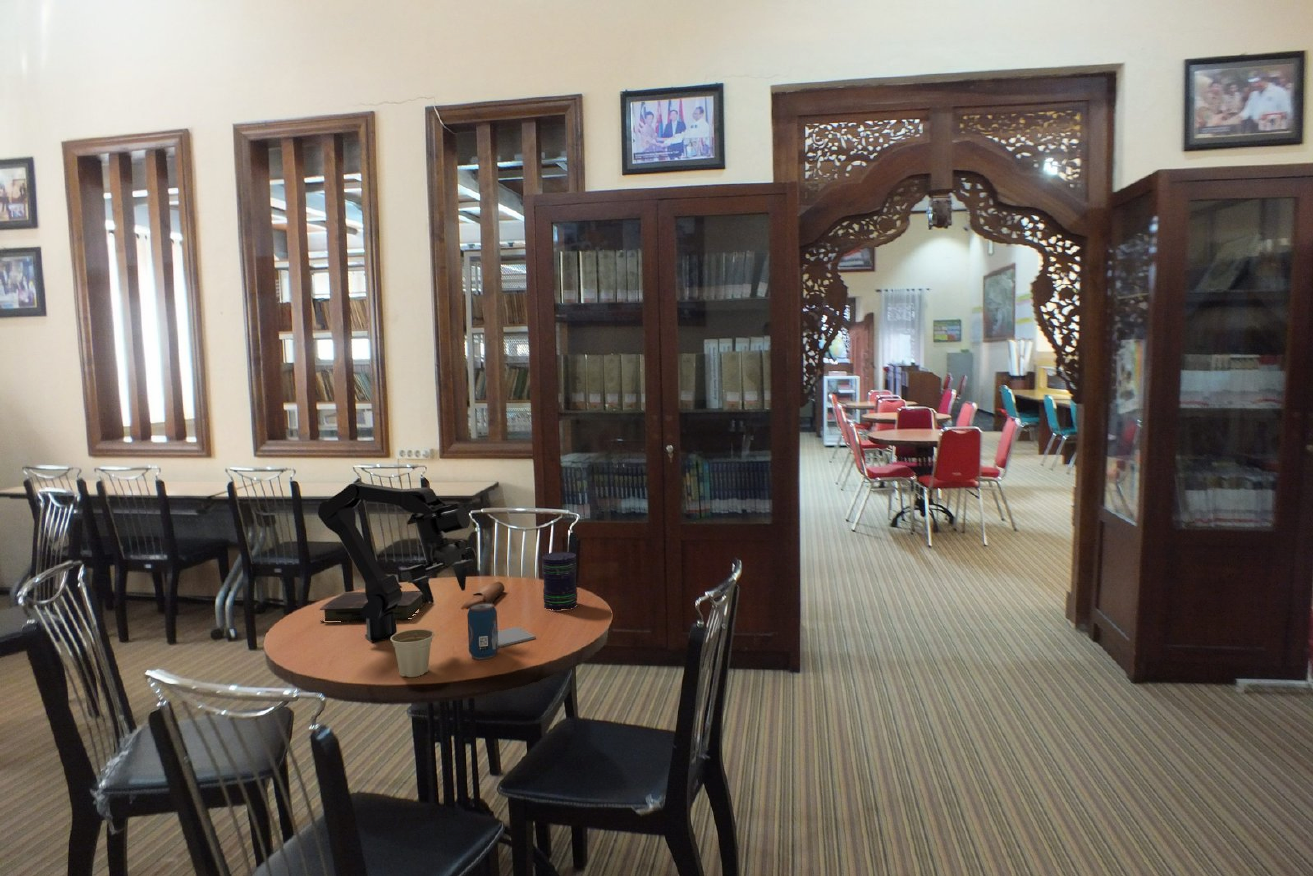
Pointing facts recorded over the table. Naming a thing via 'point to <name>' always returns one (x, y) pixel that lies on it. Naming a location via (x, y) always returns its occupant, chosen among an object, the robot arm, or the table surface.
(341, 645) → the table surface
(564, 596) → the storage jar
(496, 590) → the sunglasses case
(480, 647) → the soda can
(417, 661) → the flower pot
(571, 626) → the table surface
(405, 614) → the diary
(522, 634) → the coaster
